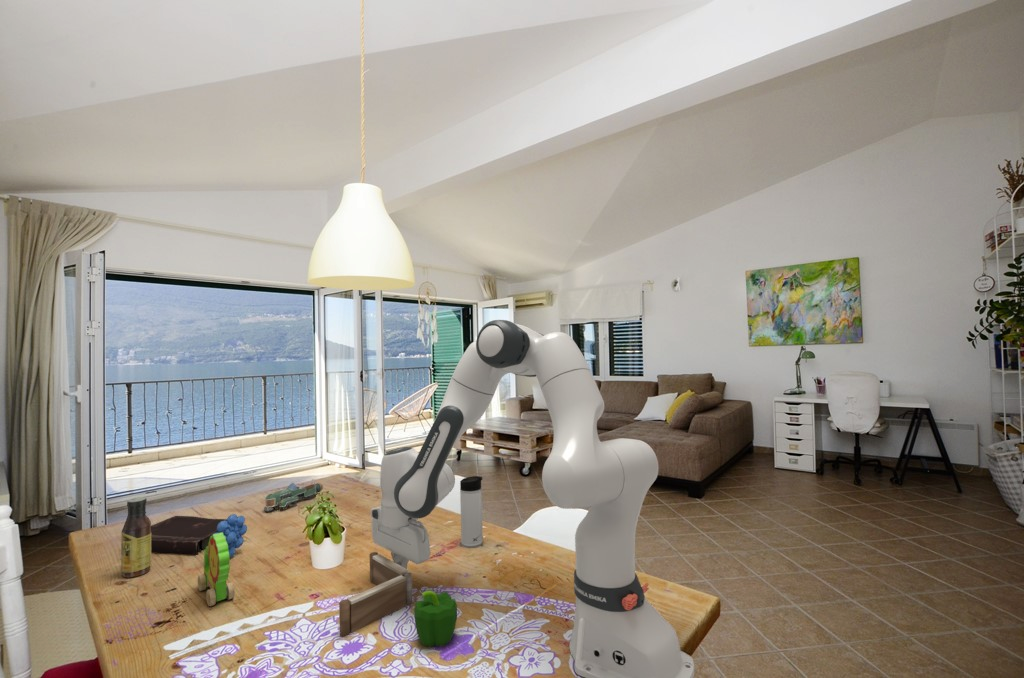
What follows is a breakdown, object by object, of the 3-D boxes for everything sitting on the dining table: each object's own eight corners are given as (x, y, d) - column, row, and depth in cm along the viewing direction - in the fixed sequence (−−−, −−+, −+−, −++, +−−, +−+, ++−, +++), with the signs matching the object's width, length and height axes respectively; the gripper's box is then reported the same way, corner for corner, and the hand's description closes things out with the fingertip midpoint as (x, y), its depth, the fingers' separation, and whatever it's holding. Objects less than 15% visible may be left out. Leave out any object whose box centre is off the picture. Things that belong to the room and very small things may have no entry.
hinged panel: (375, 577, 117) (375, 551, 118) (409, 598, 107) (408, 569, 107) (368, 580, 116) (368, 554, 116) (401, 602, 106) (401, 573, 106)
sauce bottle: (119, 574, 124) (119, 499, 125) (148, 565, 129) (148, 493, 129) (123, 582, 120) (123, 504, 120) (153, 573, 124) (153, 498, 125)
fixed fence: (414, 604, 105) (413, 574, 105) (342, 639, 93) (342, 605, 93) (409, 600, 107) (408, 571, 107) (338, 635, 94) (337, 602, 94)
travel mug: (480, 550, 133) (479, 480, 134) (458, 549, 134) (457, 479, 135) (486, 541, 139) (484, 474, 140) (465, 540, 141) (463, 473, 141)
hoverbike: (257, 511, 172) (257, 489, 172) (315, 492, 194) (314, 472, 194) (273, 515, 167) (273, 492, 168) (330, 495, 189) (330, 475, 189)
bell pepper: (459, 627, 97) (458, 578, 97) (456, 652, 88) (454, 599, 89) (418, 628, 96) (417, 580, 97) (411, 654, 88) (410, 601, 88)
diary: (195, 558, 134) (195, 541, 134) (122, 554, 139) (122, 537, 139) (243, 532, 153) (243, 517, 153) (177, 529, 157) (177, 514, 157)
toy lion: (196, 588, 116) (195, 526, 116) (221, 580, 119) (220, 520, 120) (211, 613, 104) (210, 544, 105) (238, 603, 108) (237, 537, 108)
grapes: (235, 548, 139) (235, 507, 140) (252, 550, 137) (252, 509, 137) (198, 565, 128) (197, 521, 129) (216, 568, 126) (215, 524, 126)
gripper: (435, 519, 110) (437, 578, 110) (388, 502, 124) (389, 554, 124) (413, 527, 106) (415, 589, 105) (366, 508, 120) (367, 563, 119)
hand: (400, 570), depth 115 cm, fingers closed
